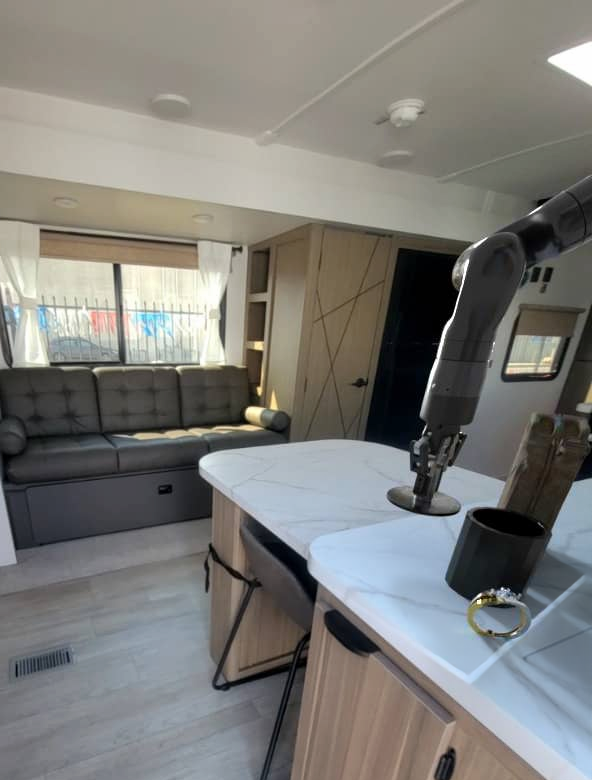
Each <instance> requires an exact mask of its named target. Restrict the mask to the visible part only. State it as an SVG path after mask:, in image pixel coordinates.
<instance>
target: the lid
mask: <svg viewBox="0 0 592 780" xmlns="http://www.w3.org/2000/svg"><path fill="white" fill-rule="evenodd" d="M429 465H430V463H429ZM440 471H441V467H440V466H438V465H436V467H435V470H434V473H433V475H432V479H431V483H430V486H429V490H428V493H427V496H425V497H420V496H417V495H415V494H413V488H414V486H413V485H412V486H411V485H410V486H408V485H405V486H403V485H402V486H395V487H392V488H389V490H388V491H387V493H386V499H387V500H388V502H389V503H391V504H392V505H393V506H394V507H397V508H399V509H401V510H404V511H406V512H409V513H412V514H417V515H422V516H427V517H436V518H438V517H439V518H444V517H445V518H447V517H452V516H455V515H458V514H459V513H460V512H461V510H462V505H461V503H460V502H459V500H458V499H456V498H455V497H453V496H451V495H449V494H447V493H444V492H442V491H439V490H438V491H437V492H435V488H436V485H437V482H438V478H439V475H440ZM434 492H435V493H434Z"/></svg>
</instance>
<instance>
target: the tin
mask: <svg viewBox="0 0 592 780" xmlns="http://www.w3.org/2000/svg"><path fill="white" fill-rule="evenodd" d="M552 531H553V530H552ZM552 531H551V529H550V528H549V527H548V526H547V525H545V524H544V523H543V522H541V521H539V520H537V519H535V518H533V517H530V516H528V515H525V514H522V513H519V512H516V511H511V510H507V509H502V508H496V507H493V506H473V507H472V508H470V509H467V510H466V514H465V517H464V519H463V522H462V526H461V528H460V531H459V533H458V537H457V540H456V543H455V545H454V549H453V550H452V551H453V552H452V554H451V556H450V560H449V563H448V566H447V569H446V572H445V576H444V580H445V582H446V584H447V585H448V587H449V588H450V589H451V590H453V591H454V592H455V593H456V594H458V595H459V596H461V597H463V598H465V599H466V600H469V601H470V602H471V601H472V600H473V599H474V598H475V597H476V596H477V595H479V594H480V593H482V592H484V591H487V590H491V589H496V588H501V587H503V588H504V589H507V588H510V591H511V592H513V593H514V594H515V595H516V596H518V594H521V597H520V598H519V599H520V600H521V601H522V602H523V600H524V598H525V597H526V594H527V591H528V589H529V588H530V585H531V582H532V581H533V578H534V577H535V574H536V572H537V570H538V567H539V565H540V564H541V562H542V559H543V557H544V555H545V552H546V550H547V548H548V546H549V544H550V542H551V540H552V537H553V532H552ZM490 598H495V599H497V597H491V596H489V597H487V598H485V599H490ZM487 607H488V608H495V609H503V610H505V609H506V610H507V609H512V608H518V606H516V605H512V604H507V603H500V604H493V605H488V606H487Z"/></svg>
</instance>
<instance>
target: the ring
mask: <svg viewBox="0 0 592 780" xmlns="http://www.w3.org/2000/svg"><path fill="white" fill-rule="evenodd" d="M489 596H491V597H497V599H495V598H490V599H485V598H487V597H489ZM520 597H521V594H518V596H516V595H515V594H514V593H513V592H511V591H510V588H507V589H504V588H503V587H501V588H496V589H491V590H487V591H484V592H482V593H480V594H479V595H477V596H476V597H475V598H474V599H473V600H472V601H471V600H470V603H468V606H467V610H466V619H467V622H468V625H469V626H470V628H471V629H472V630H473V631H474V632H475V633H477V634H480V635H482V636H486V637H489V638H493V639H496V640H500V641H503V642H505V641H510V640H511V641H512V640H515V639H518V638H519V637H522V636H523V635H525V634H526V633H527V632H528V631H529V629H530V628H531V624H532V613H531V610H530V608H529V607H528V606H527V605H526V604H525V603H524V601H523V600H522V601H521V600H520V599H519V598H520ZM500 603H507V604H512V605H516V606H517V608H518V609H519V610H520V612H521V615H522V618H521V622H520V623H519V625H518V626H517V628H515V629H513V630H511V631H508V632H502V633H499V632H494V630H491V629H484V628H482V627H480V625H478V624H477V623H476V621H475V620H474V615H475V613H476V612H477V611H478V610H479V609H482V608H484V607H488V605H493V604H500Z"/></svg>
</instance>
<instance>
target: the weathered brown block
mask: <svg viewBox="0 0 592 780" xmlns="http://www.w3.org/2000/svg"><path fill="white" fill-rule="evenodd" d="M591 432H592V430H591V426H590V424H589V421H588V419H587V418H586V417H585V416H584V417H583V416H578V415H569V414H563V415H562V414H561V413H559V414H557V413H554V412H546V411H545V412H544V411H534V412H533V413H532V414H531V415H530V417H529V420H528V423H527V425H526V428H525V431H524V434H523V436H522V439H521V441H520V444H519V447H518V448H517V452H516V454H515V456H514V460H513V462H512V464H511V467H510V470H509V473H508V475H507V478H506V481H505V484H504V486H503V489H502V491H501V493H500V496H499V500H498V502H497V505H496V507H495V508H502V509H507V510H511V511H516V512H519V513H522V514H525V515H528V516H530V517H533V518H535V519H537V520H539V521H541V522H543V523H544V524H545V525H547V526H548V527H549V528H550V529H551V531H553V528H554V526H555V524H556V522H557V519H558V516H559V514H560V511H561V509H562V507H563V505H564V503H565V502H566V499H567V497H568V495H569V494H570V491H571V489H572V487H573V485H574V484H573V483H574V481H575V480H576V478H577V476H578V474H579V471H580V469H581V467H582V464H583V463H584V461H585V459H586V457H588V456H589V454H590V453H591V450H592V444H590V443H589V442H588V440H589V437H590V434H591Z"/></svg>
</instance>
